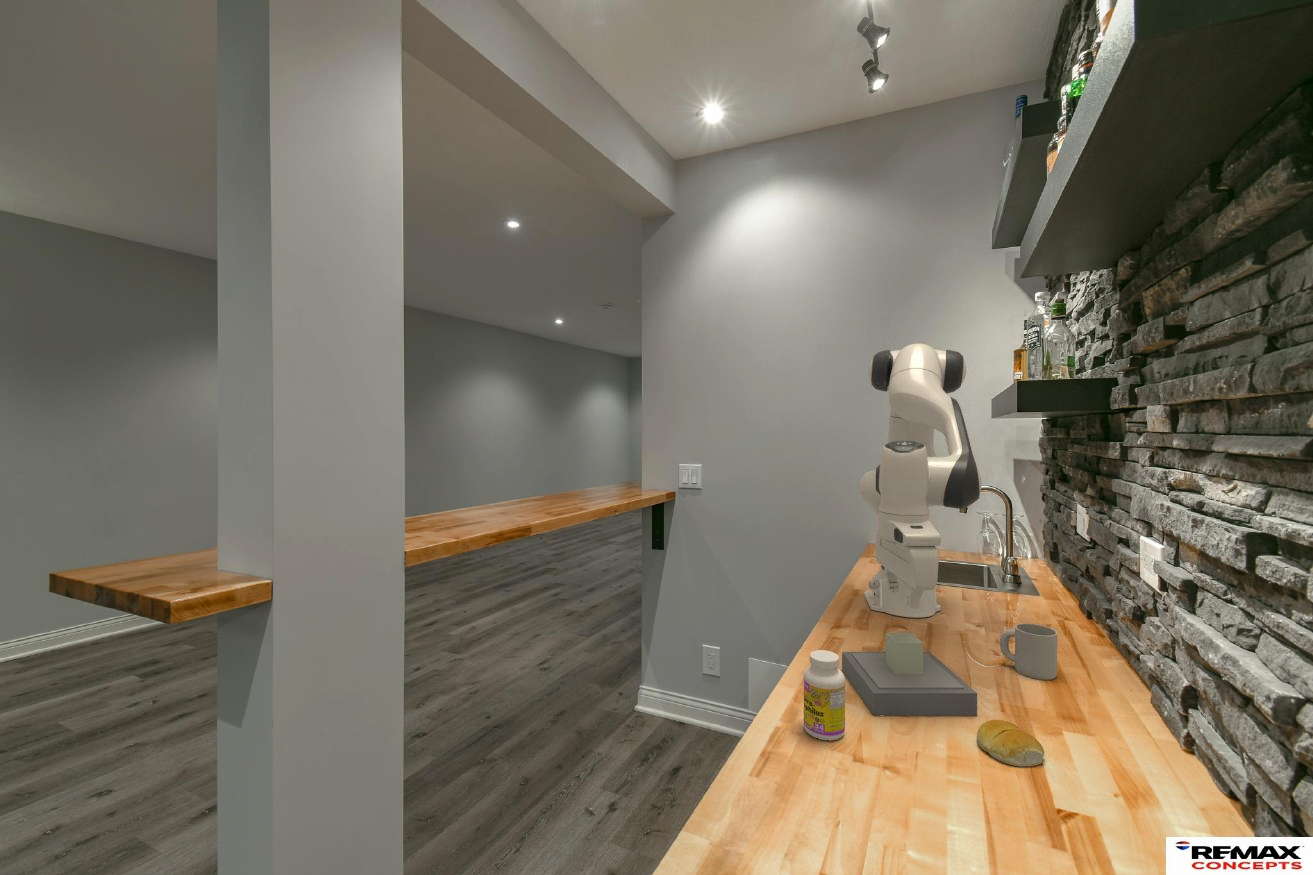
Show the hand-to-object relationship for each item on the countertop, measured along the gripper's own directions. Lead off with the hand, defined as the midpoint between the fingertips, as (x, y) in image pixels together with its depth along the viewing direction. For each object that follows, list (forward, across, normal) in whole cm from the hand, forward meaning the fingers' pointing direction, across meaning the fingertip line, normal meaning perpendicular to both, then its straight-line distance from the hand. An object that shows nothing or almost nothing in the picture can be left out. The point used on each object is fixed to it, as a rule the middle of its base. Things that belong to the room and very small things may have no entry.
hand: (902, 598), depth 108 cm
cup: (+18, -9, +29) cm, 35 cm away
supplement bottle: (+18, +15, -19) cm, 30 cm away
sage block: (+13, 0, 0) cm, 13 cm away
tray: (+18, +1, 0) cm, 18 cm away
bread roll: (+18, +20, +9) cm, 28 cm away
